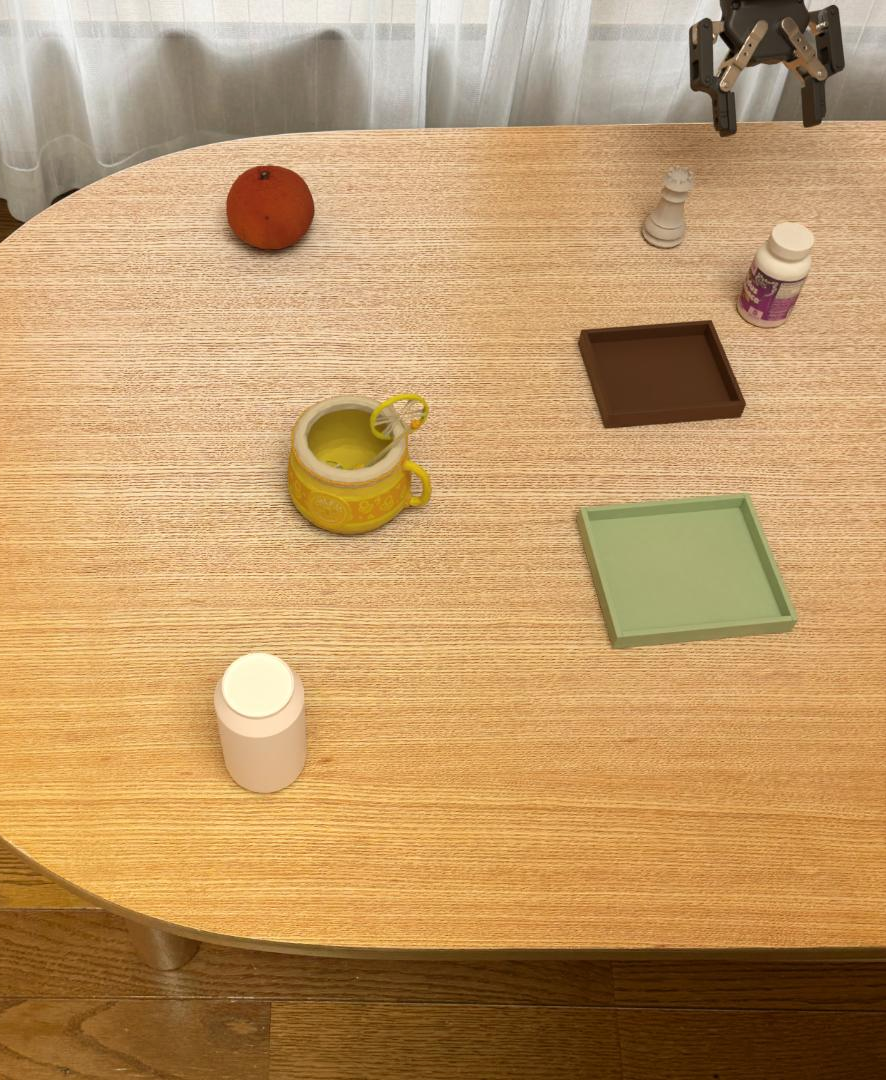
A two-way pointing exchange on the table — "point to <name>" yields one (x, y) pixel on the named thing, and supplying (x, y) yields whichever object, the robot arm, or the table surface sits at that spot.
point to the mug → (354, 462)
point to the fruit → (270, 207)
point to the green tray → (684, 571)
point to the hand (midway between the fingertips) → (771, 130)
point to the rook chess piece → (670, 210)
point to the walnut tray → (660, 374)
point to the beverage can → (261, 722)
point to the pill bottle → (776, 276)
